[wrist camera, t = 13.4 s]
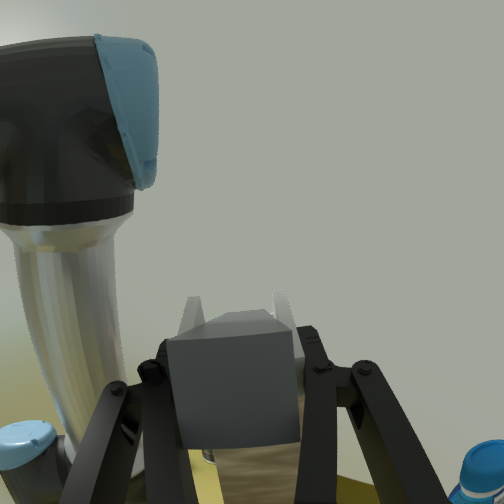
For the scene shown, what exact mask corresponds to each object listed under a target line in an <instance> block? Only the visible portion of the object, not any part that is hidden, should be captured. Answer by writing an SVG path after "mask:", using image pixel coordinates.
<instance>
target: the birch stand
mask: <svg viewBox="0 0 504 504" xmlns="http://www.w3.org/2000/svg"><path fill="white" fill-rule="evenodd" d="M304 401H305V393H304V396H303V397H298V406H299V420H300V434H301V437H302V426H303V414H304ZM300 447H301V442H297V443H290V444H282V445H274V446H264V447H253V448H238V449H213V450H214V456H215V461H216V466H217V471H218V476H219V481H220V486H221V491H222V495H223V500H224V504H294V498H295V490H296V482H297V474H298V466H299V457H300Z"/></svg>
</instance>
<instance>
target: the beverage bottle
mask: <svg viewBox="0 0 504 504" xmlns="http://www.w3.org/2000/svg"><path fill="white" fill-rule="evenodd" d="M448 500H450V501H451V502H452V503H453V504H504V440H490V441H486V442H483V443H480V444H478V445H476V446H474V447H473V448H472V449H470V450H469V452H468V453H467V454H466V456H465V458H464V461H463V465H462V469H461V473H460V482H459V483H458V485H457V486H456V487H455V488H454V489H453V491H452V492H451V493H450V495H449V497H448Z"/></svg>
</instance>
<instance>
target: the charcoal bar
mask: <svg viewBox="0 0 504 504" xmlns="http://www.w3.org/2000/svg"><path fill="white" fill-rule="evenodd" d="M166 347H167V355H168V363H169V370H170V377H171V384H172V390H173V396H174V402H175V408H176V414H177V419H178V425H179V430H180V435H181V440H182V444H183V449H198V450H206V449H238V448H253V447H264V446H274V445H282V444H290V443H297V442H301V434H300V420H299V406H298V393H297V381H296V369H295V357H294V346H293V336H292V330H291V329H289V328H288V327H287V326H285V325H284V324H283V323H281V322H280V321H278V320H277V319H276V318H275V317H274V316H272V315H271V314H270V313H268V312H267V311H266V310H264V309H260V310H251V311H240V312H229V313H225V314H223V315H221V316H219V317H217V318H215V319H213V320H211V321H208V322H206V323H204V324H202V325H200V326H198V327H195V328H193V329H191V330H189V331H186V332H184V333H182V334H180V335H177V336H175V337H173V338H171V339H168V340H166Z"/></svg>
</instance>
